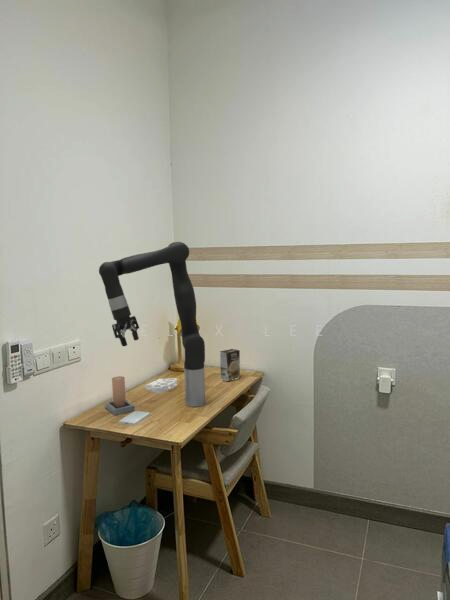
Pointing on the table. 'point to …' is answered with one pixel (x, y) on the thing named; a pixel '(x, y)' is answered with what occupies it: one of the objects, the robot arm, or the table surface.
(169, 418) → the table surface
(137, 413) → the hard drive
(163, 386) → the white brass knuckles
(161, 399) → the table surface
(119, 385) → the pink rounded cylinder
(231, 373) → the coffee box
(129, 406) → the slate dish
